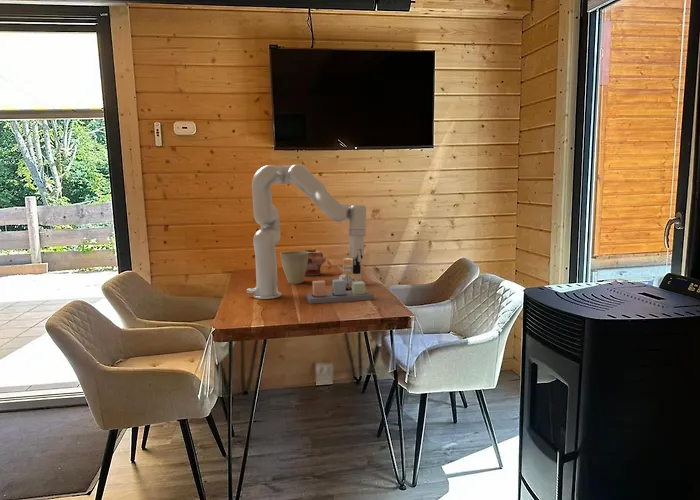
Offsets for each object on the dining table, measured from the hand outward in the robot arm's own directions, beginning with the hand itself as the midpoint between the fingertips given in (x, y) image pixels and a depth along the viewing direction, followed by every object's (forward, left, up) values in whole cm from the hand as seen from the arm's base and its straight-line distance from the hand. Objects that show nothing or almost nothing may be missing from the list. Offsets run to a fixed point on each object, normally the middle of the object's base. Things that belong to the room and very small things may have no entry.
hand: (356, 273), depth 221 cm
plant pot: (-23, +43, -11) cm, 50 cm away
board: (-8, 0, -11) cm, 14 cm away
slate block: (-8, 0, -9) cm, 12 cm away
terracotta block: (-17, 0, -9) cm, 19 cm away
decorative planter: (-13, +64, -11) cm, 66 cm away
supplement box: (+5, +31, -11) cm, 33 cm away
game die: (-1, +19, -11) cm, 22 cm away
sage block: (+1, 0, -10) cm, 10 cm away
